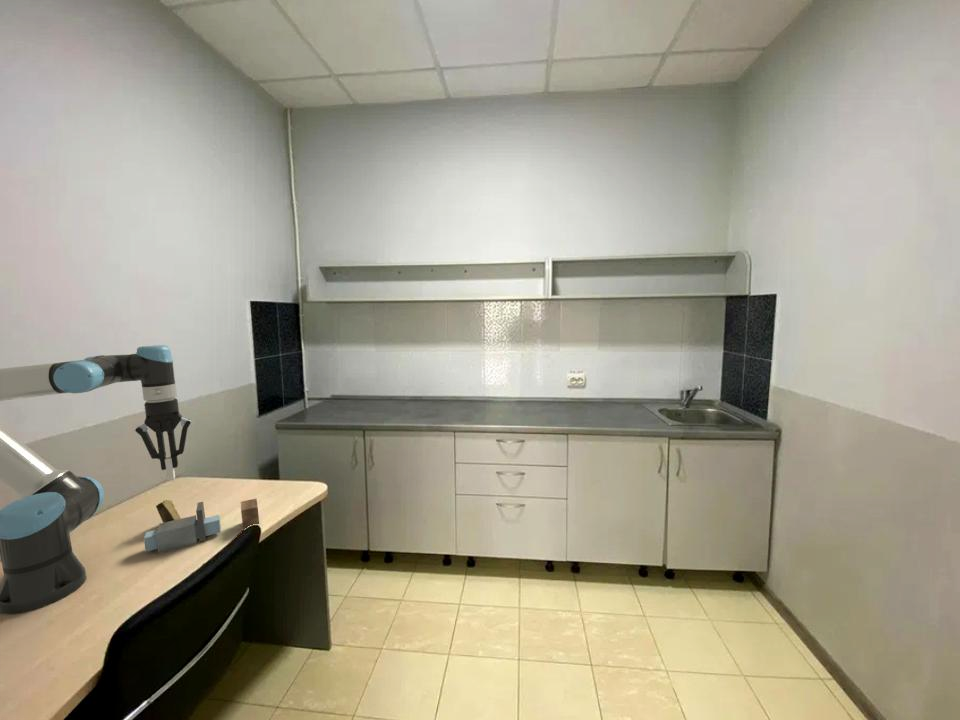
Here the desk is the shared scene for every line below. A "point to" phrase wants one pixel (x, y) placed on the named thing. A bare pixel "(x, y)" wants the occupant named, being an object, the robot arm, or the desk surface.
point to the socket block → (249, 513)
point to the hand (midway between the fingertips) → (171, 479)
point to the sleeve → (176, 534)
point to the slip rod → (201, 526)
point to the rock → (167, 511)
